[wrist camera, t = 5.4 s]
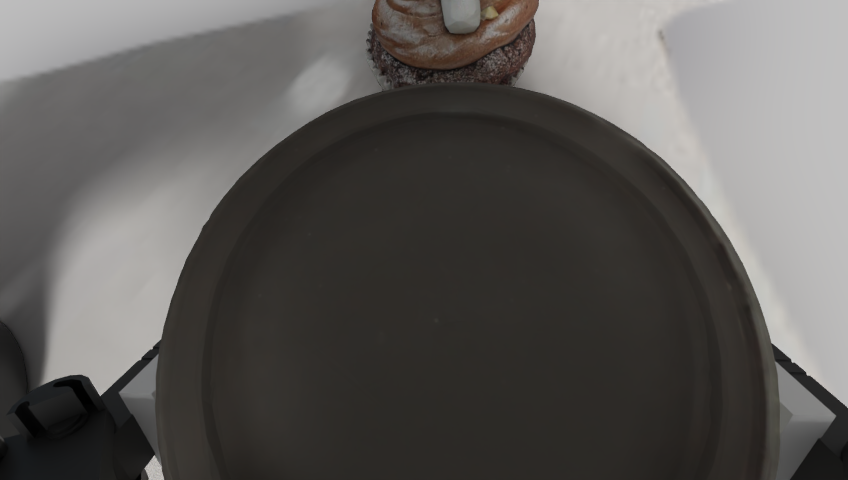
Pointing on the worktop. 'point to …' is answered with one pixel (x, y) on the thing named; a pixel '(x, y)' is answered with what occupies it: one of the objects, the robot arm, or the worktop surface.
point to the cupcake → (450, 41)
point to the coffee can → (464, 307)
